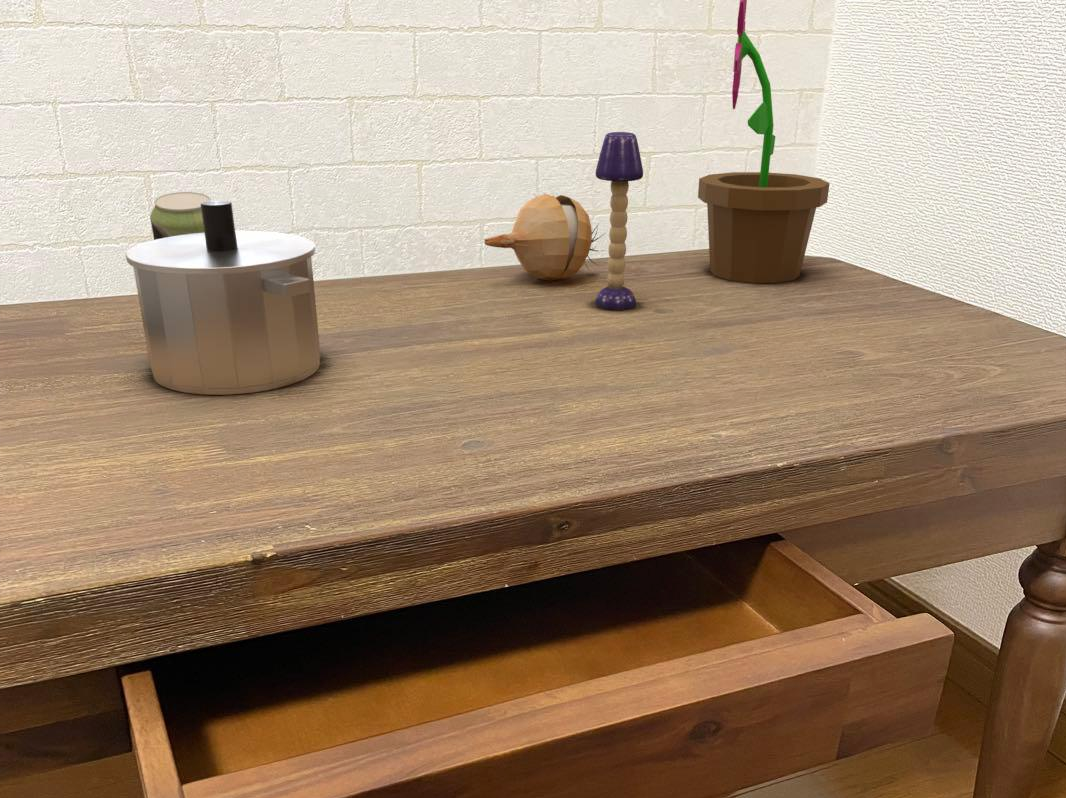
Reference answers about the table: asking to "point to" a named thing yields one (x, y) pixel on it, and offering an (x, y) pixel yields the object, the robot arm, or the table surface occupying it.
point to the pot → (230, 329)
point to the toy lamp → (618, 212)
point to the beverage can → (177, 214)
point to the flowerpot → (759, 200)
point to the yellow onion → (549, 237)
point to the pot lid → (220, 248)
